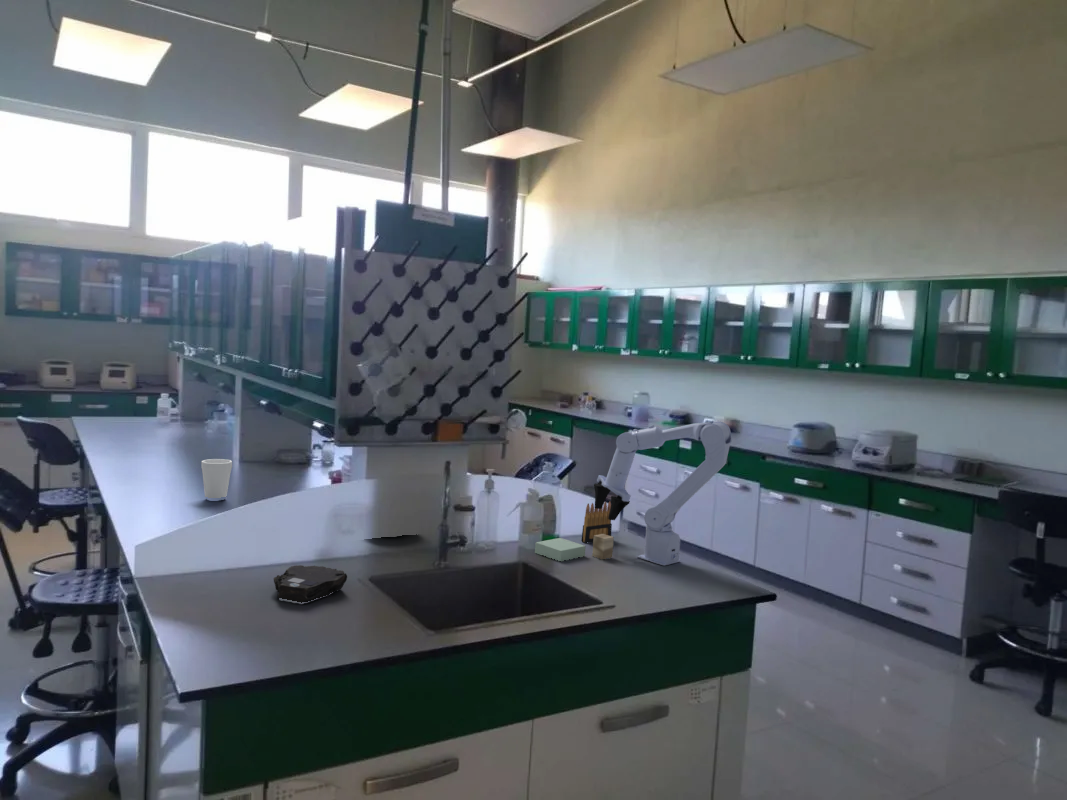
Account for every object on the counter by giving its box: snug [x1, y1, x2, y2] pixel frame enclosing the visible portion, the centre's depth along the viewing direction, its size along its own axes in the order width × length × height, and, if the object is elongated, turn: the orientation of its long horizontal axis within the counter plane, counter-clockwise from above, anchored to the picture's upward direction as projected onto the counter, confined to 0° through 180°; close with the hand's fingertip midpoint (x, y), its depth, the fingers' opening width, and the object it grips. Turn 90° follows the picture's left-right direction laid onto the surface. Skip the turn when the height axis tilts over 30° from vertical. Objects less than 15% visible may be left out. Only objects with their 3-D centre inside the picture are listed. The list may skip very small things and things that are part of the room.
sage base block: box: [534, 537, 586, 562], centre depth 215 cm, size 10×10×3 cm
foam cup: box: [200, 458, 233, 498], centre depth 255 cm, size 10×9×13 cm
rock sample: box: [273, 564, 348, 603], centre depth 171 cm, size 18×16×5 cm
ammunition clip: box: [581, 500, 613, 544], centre depth 233 cm, size 11×2×12 cm, turn 127°
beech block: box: [591, 534, 615, 560], centre depth 216 cm, size 4×4×6 cm
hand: (604, 513), depth 224 cm, fingers open, 7 cm apart
